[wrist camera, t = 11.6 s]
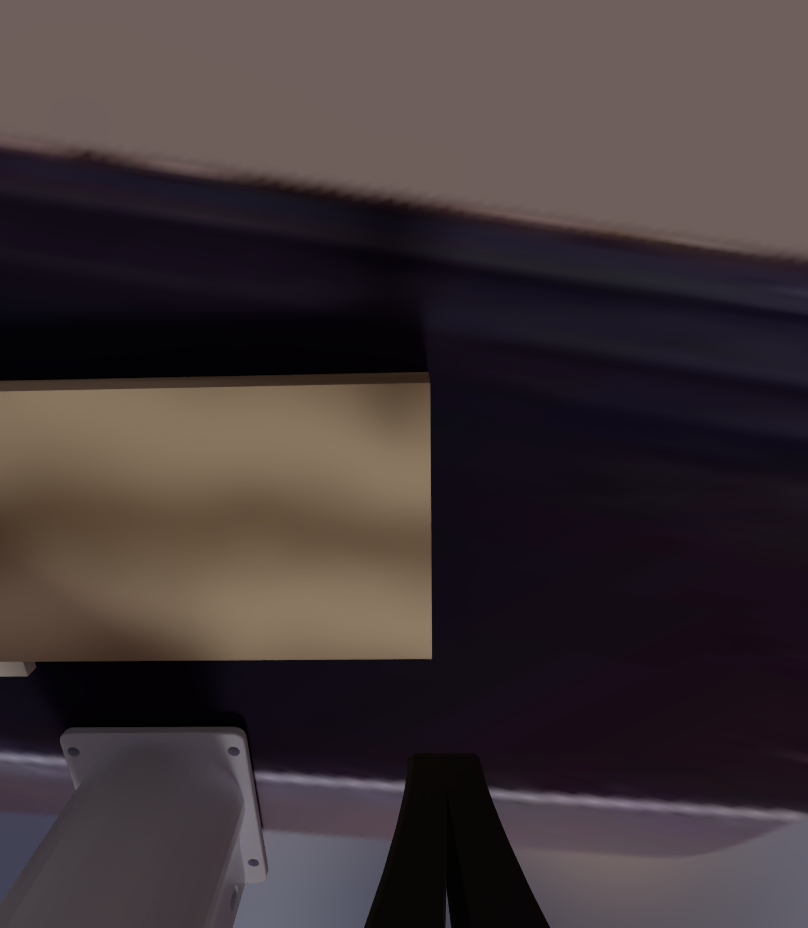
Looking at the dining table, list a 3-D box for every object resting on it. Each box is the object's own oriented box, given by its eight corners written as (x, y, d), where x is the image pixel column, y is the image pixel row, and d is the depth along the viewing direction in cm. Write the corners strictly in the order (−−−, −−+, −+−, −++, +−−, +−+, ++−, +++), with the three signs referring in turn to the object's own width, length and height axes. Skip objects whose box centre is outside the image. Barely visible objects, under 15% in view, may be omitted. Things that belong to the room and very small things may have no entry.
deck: (430, 623, 20) (431, 658, 18) (35, 627, 21) (-3, 661, 19) (428, 372, 17) (429, 382, 15) (-42, 381, 17) (-98, 393, 15)
